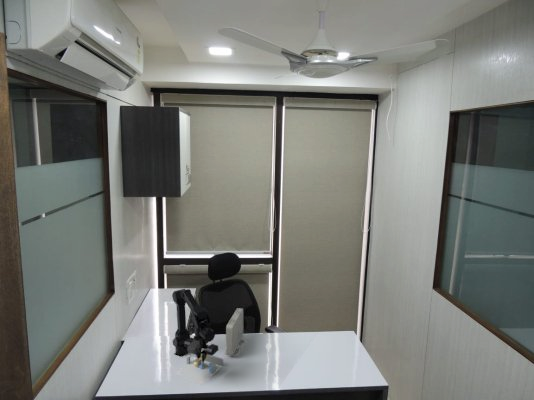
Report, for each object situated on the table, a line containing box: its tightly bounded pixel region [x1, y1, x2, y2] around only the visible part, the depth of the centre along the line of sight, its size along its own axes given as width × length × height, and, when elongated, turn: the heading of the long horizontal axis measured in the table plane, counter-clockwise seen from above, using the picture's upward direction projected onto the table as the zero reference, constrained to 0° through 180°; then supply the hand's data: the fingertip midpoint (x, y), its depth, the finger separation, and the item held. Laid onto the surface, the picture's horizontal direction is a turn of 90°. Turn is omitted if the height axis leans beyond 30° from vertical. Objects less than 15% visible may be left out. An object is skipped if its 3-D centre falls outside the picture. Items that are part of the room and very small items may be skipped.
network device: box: [224, 307, 246, 357], centre depth 210 cm, size 26×9×20 cm, turn 170°
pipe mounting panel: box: [174, 354, 224, 386], centre depth 188 cm, size 19×18×5 cm
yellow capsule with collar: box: [194, 354, 208, 367], centre depth 183 cm, size 11×3×2 cm, turn 153°
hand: (201, 360), depth 183 cm, fingers closed on yellow capsule with collar, 2 cm apart
